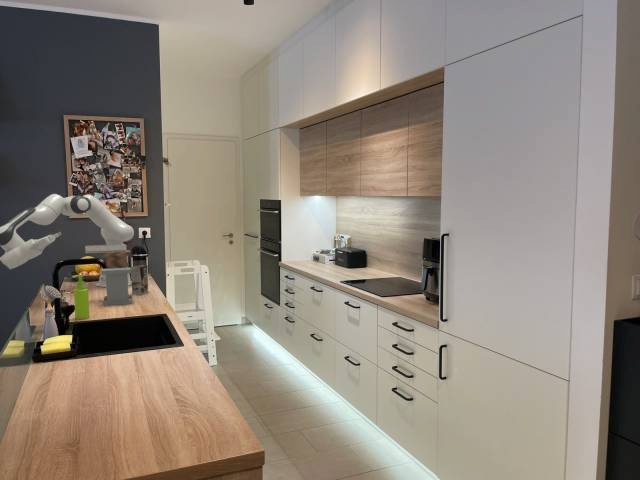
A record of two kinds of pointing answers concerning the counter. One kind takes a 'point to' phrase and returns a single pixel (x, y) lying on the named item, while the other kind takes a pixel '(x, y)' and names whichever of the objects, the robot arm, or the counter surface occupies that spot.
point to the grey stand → (116, 286)
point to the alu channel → (105, 248)
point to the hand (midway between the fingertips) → (59, 233)
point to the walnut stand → (117, 262)
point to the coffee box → (139, 279)
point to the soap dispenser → (81, 299)
